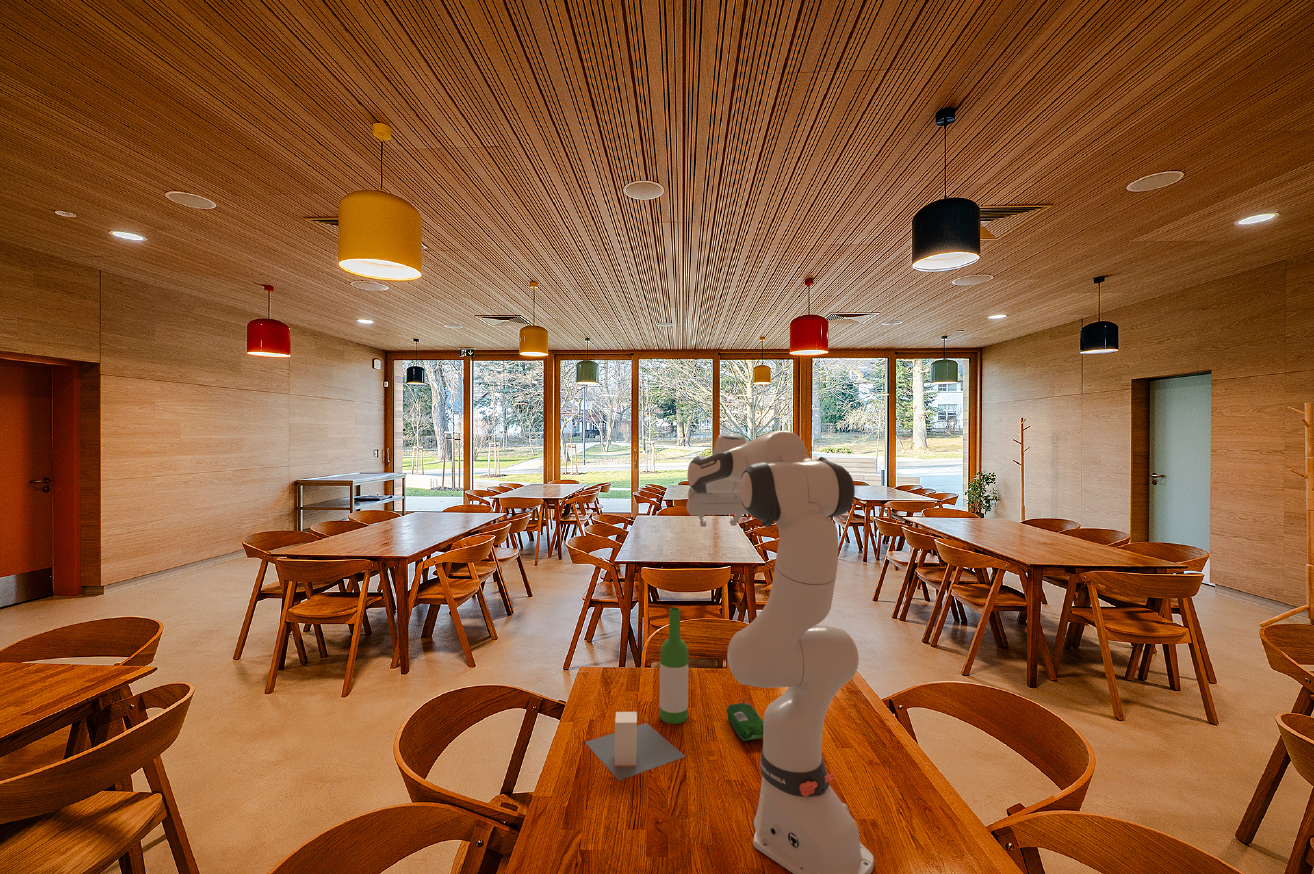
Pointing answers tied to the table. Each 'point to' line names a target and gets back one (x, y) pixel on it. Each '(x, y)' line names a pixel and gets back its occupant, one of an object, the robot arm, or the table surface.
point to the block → (625, 739)
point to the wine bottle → (674, 674)
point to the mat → (648, 754)
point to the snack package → (745, 721)
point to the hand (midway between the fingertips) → (717, 525)
